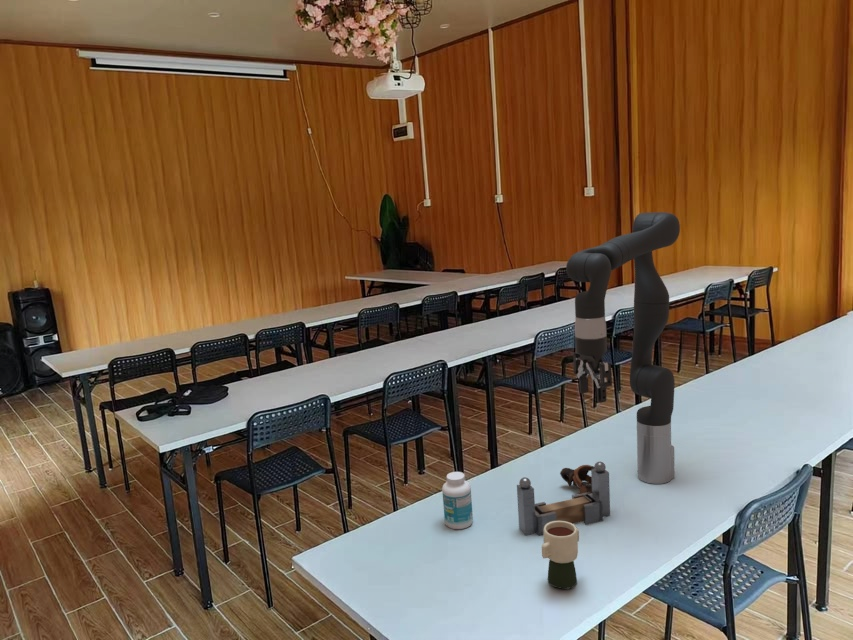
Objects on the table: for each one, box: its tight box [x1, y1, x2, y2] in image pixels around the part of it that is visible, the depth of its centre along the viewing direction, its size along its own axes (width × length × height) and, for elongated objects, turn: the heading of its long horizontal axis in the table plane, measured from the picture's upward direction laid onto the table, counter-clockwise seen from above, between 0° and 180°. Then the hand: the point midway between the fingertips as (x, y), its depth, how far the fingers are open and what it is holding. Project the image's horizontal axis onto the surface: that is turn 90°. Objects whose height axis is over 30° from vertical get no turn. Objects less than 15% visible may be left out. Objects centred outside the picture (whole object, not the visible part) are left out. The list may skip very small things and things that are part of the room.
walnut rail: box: [536, 495, 592, 525], centre depth 168 cm, size 14×3×5 cm, turn 107°
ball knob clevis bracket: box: [516, 461, 611, 537], centre depth 167 cm, size 24×7×14 cm, turn 106°
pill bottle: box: [441, 471, 474, 530], centre depth 171 cm, size 8×7×14 cm
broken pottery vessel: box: [559, 464, 595, 494], centre depth 185 cm, size 12×10×8 cm
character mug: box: [541, 521, 580, 589], centre depth 142 cm, size 11×7×13 cm, turn 125°
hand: (592, 397), depth 165 cm, fingers open, 8 cm apart
